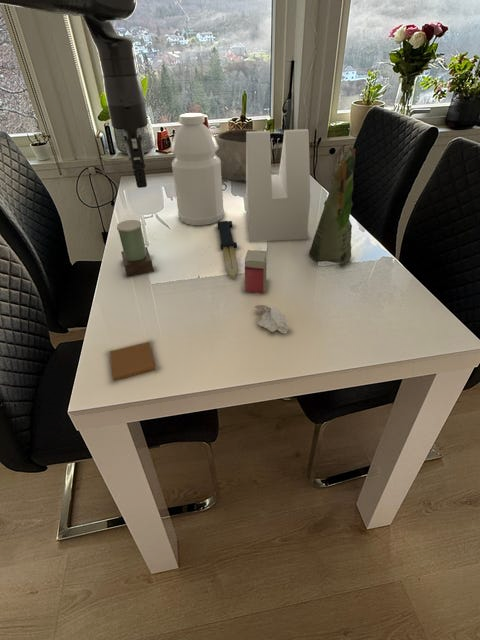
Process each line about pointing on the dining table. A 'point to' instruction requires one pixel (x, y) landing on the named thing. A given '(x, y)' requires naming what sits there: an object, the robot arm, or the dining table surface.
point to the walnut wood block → (138, 265)
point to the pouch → (336, 216)
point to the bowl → (233, 153)
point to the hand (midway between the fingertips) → (140, 181)
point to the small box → (255, 271)
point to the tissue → (272, 319)
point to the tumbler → (132, 240)
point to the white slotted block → (278, 187)
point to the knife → (228, 246)
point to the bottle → (197, 172)
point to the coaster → (131, 360)
